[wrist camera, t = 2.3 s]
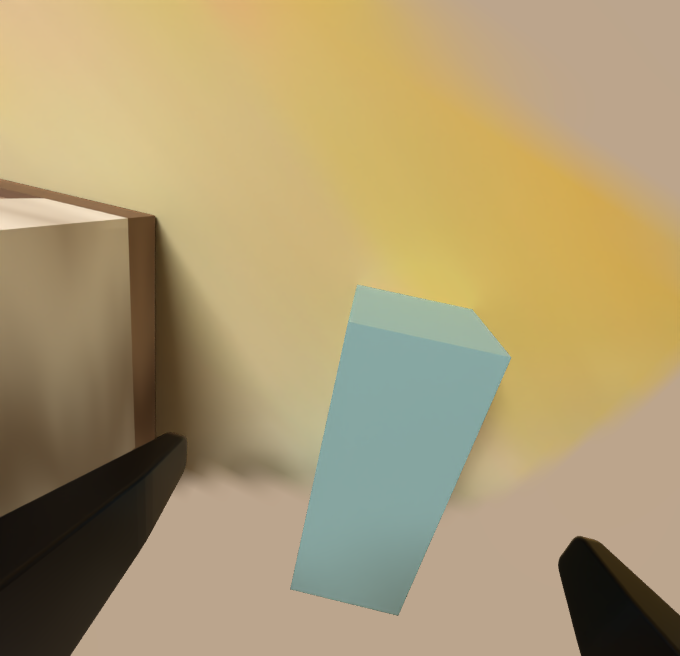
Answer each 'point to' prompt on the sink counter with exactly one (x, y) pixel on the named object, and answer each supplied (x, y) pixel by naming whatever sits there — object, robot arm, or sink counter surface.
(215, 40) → the sink counter surface
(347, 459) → the teal rectangular block
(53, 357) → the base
